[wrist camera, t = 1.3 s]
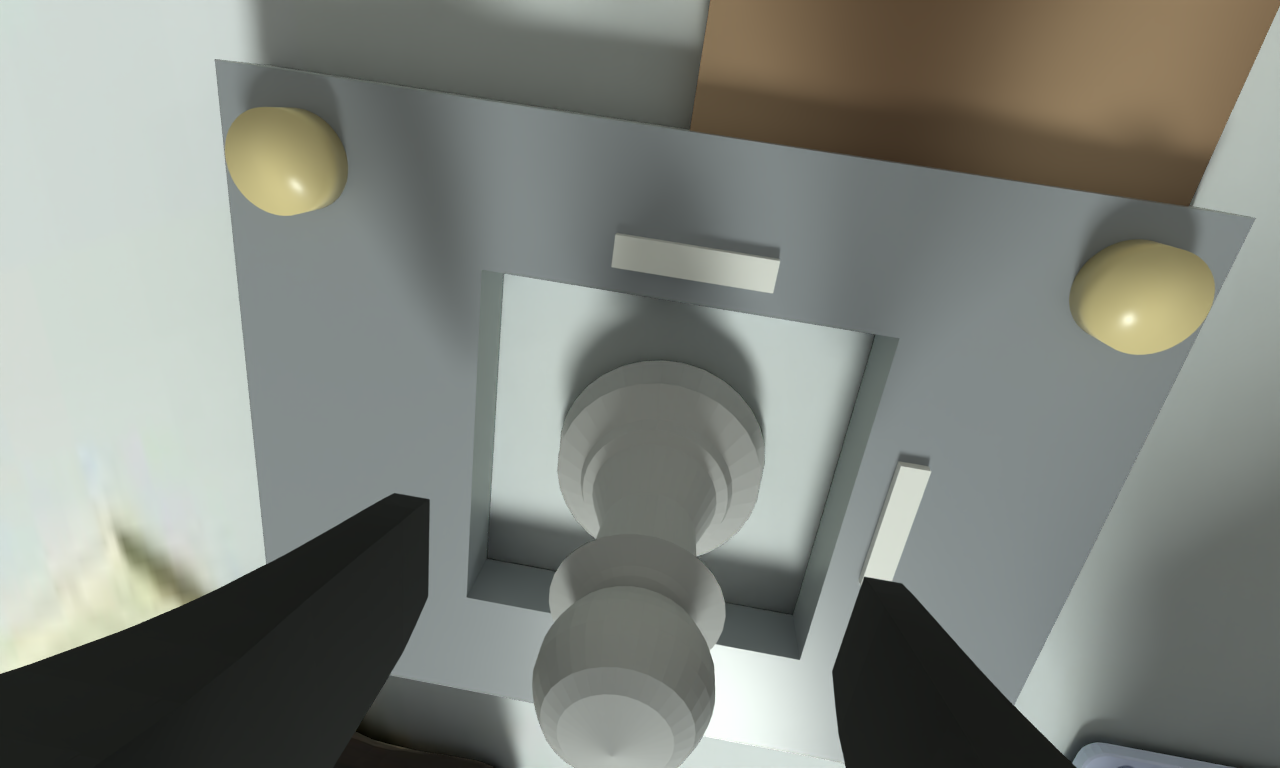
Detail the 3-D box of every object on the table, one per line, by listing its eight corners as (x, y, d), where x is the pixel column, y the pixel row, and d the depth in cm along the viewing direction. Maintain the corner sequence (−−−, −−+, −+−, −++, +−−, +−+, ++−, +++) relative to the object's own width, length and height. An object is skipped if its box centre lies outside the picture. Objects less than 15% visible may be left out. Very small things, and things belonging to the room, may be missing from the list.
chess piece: (607, 321, 14) (492, 536, 7) (801, 407, 15) (888, 703, 7) (535, 488, 16) (384, 800, 9) (709, 563, 16) (704, 925, 9)
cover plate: (1194, 206, 12) (1295, 225, 10) (952, 735, 18) (984, 820, 16) (267, 65, 13) (181, 54, 11) (308, 613, 18) (255, 677, 16)
